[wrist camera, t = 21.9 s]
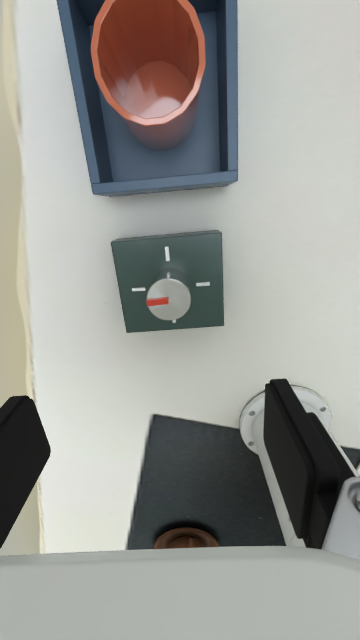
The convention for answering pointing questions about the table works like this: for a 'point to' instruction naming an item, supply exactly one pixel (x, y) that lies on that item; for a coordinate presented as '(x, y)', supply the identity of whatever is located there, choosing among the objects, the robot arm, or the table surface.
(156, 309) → the rotary dial knob
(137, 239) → the green dial base
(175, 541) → the cup and saucer
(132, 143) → the basin
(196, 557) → the robot arm
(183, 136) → the cup
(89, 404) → the table surface
